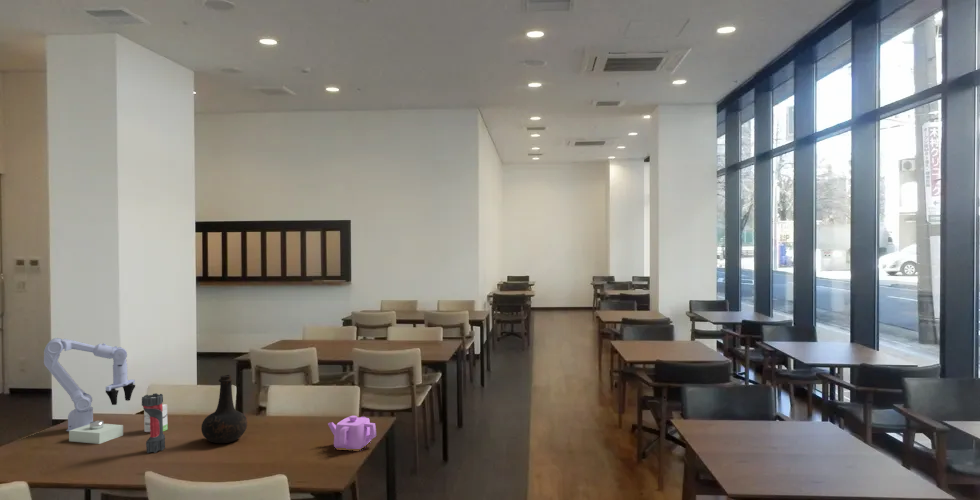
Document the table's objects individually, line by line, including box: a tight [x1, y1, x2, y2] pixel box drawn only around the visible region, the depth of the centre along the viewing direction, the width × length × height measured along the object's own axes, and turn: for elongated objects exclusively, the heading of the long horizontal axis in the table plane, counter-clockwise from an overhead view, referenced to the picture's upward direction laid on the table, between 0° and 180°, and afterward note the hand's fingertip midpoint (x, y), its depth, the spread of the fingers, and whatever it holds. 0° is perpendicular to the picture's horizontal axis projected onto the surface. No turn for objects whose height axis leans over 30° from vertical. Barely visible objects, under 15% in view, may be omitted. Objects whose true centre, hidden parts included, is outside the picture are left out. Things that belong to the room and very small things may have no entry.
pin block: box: [68, 423, 124, 445], centre depth 260 cm, size 16×12×4 cm
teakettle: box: [327, 415, 377, 449], centre depth 249 cm, size 17×17×12 cm
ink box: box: [143, 403, 169, 433], centre depth 271 cm, size 9×5×12 cm, turn 79°
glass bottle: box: [201, 374, 248, 444], centre depth 257 cm, size 18×18×28 cm
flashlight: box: [141, 393, 166, 454], centre depth 243 cm, size 8×8×23 cm
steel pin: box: [90, 420, 104, 430], centre depth 260 cm, size 5×5×6 cm
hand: (121, 402), depth 281 cm, fingers open, 7 cm apart
